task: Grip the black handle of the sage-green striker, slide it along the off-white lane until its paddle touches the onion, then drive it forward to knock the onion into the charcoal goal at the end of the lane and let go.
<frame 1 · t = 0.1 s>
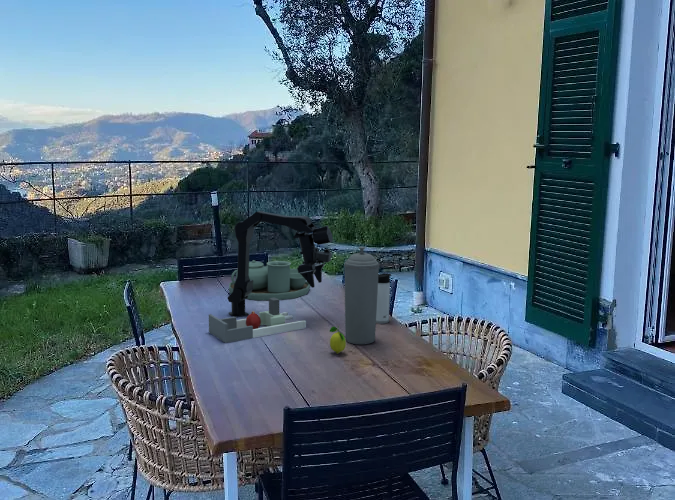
hand: (316, 284, 241), 15 cm above the table, tool pointing down, fingers open, 9 cm apart
striker: (278, 311, 236), point 6 cm above the table, slide at 0.0 cm
onion: (253, 331, 231), resting in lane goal
tea set: (269, 291, 295), on the table
travel mug: (381, 322, 245), on the table
lemon: (337, 354, 207), on the table
canister: (360, 341, 221), on the table
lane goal: (258, 330, 232), on the table
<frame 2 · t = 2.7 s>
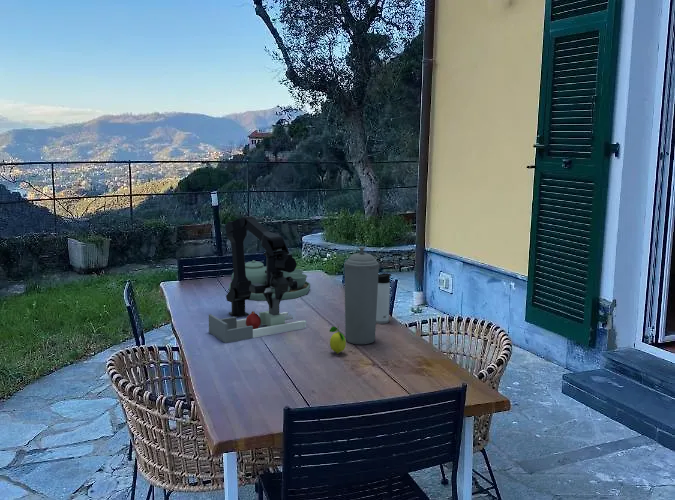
hand: (274, 307, 234), 8 cm above the table, tool pointing down, fingers closed on striker, 2 cm apart
striker: (278, 311, 236), point 6 cm above the table, slide at 0.0 cm, touching gripper
everything else where it was.
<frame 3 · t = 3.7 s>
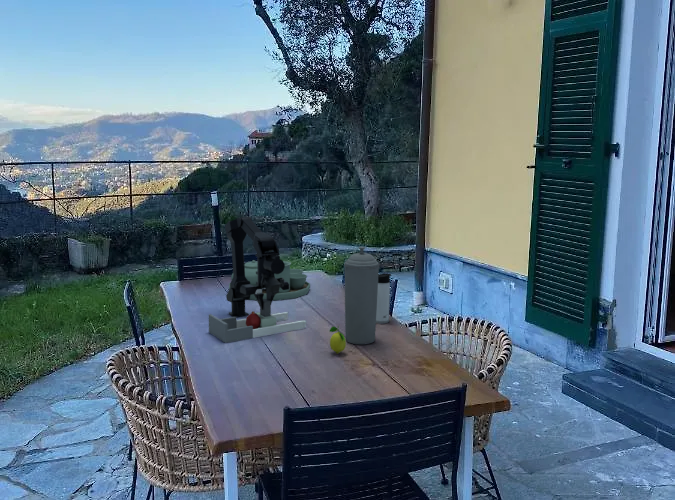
hand: (265, 309, 232), 8 cm above the table, tool pointing down, fingers closed on striker, 2 cm apart
striker: (269, 313, 233), point 6 cm above the table, slide at 3.8 cm, touching gripper
everything else where it was.
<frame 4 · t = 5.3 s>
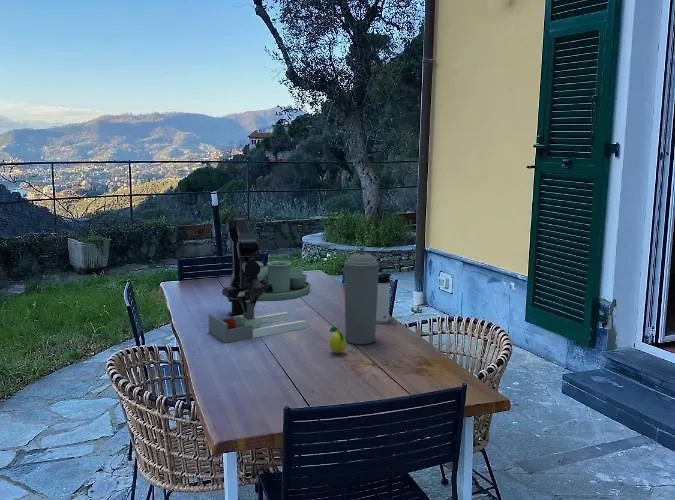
hand: (248, 311, 228), 8 cm above the table, tool pointing down, fingers closed on striker, 2 cm apart
striker: (253, 315, 229), point 6 cm above the table, slide at 11.0 cm, touching gripper
onion: (235, 318, 226), point 6 cm above the table
everything else where it was.
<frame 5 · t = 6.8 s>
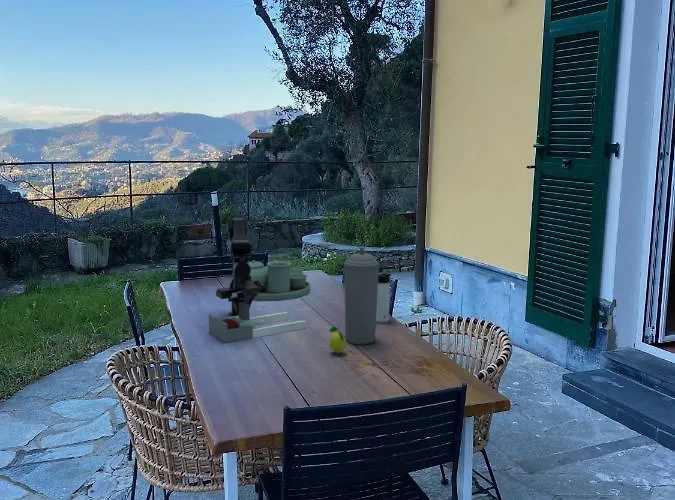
hand: (242, 312, 227), 8 cm above the table, tool pointing down, fingers open, 3 cm apart
striker: (248, 316, 228), point 6 cm above the table, slide at 12.9 cm, touching gripper, onion
onion: (238, 324, 227), point 3 cm above the table, touching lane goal, striker
everything else where it was.
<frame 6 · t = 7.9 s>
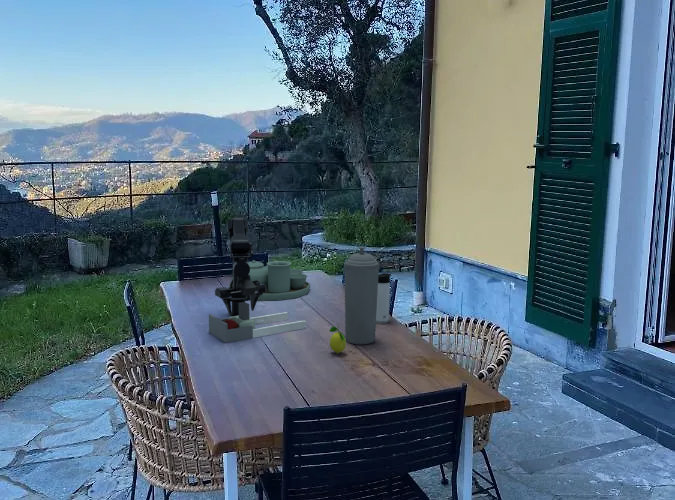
hand: (241, 312, 226), 8 cm above the table, tool pointing down, fingers open, 9 cm apart
striker: (248, 316, 228), point 6 cm above the table, slide at 12.9 cm, touching onion
onion: (238, 324, 227), point 3 cm above the table, touching striker
everything else where it was.
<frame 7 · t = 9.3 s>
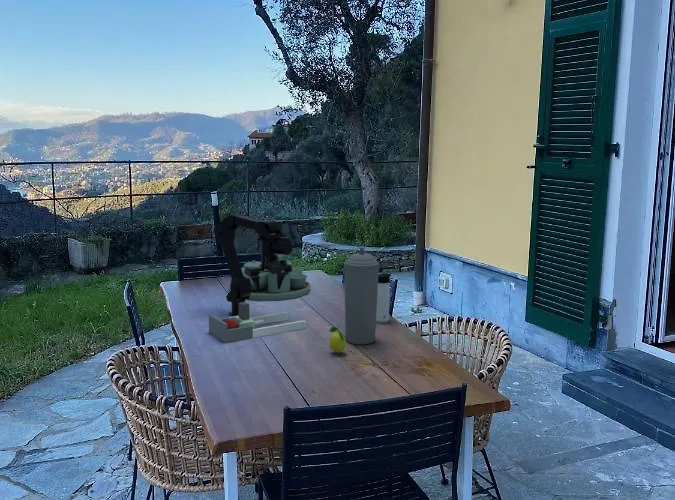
hand: (268, 290, 241), 13 cm above the table, tool pointing down, fingers open, 9 cm apart
nothing on the table moved.
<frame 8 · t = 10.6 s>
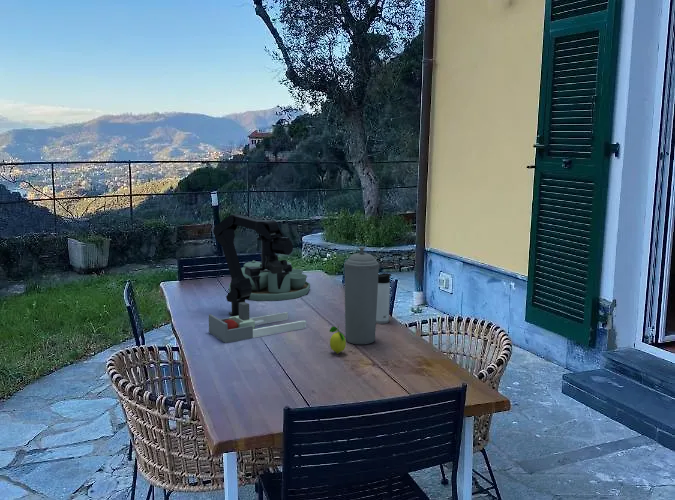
hand: (268, 290, 241), 13 cm above the table, tool pointing down, fingers open, 9 cm apart
nothing on the table moved.
at the end: onion inside the target area (4.5 cm from its centre), point 3.3 cm above the table; striker slide at 12.9 cm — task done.
